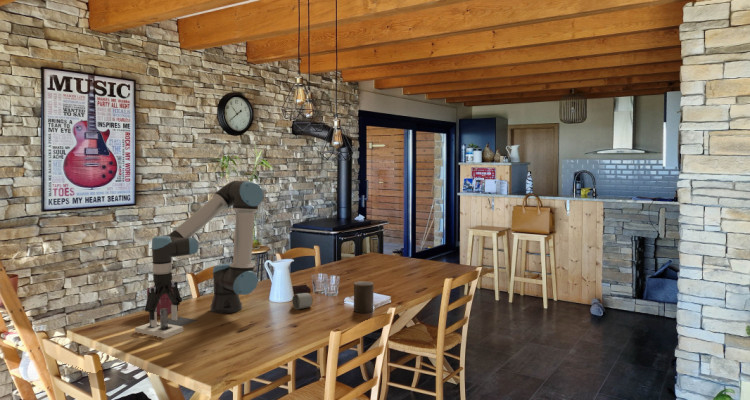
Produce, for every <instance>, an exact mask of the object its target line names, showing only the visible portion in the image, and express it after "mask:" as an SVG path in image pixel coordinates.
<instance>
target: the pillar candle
mask: <svg viewBox="0 0 750 400" xmlns="http://www.w3.org/2000/svg"><path fill="white" fill-rule="evenodd" d="M353 311H354V312H356V313H359V314H368V313H372V312H374V282H372V281H367V280H362V281H361V280H359V281H355V282H354V283H353Z"/></svg>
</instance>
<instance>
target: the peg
mask: <svg viewBox="0 0 750 400" xmlns="http://www.w3.org/2000/svg"><path fill="white" fill-rule="evenodd" d="M168 315H169V314H168V313H167V308H162V309H160V315H159V317H160V318H159V319H160V321H159V322H160V325H161V330H163V331H165V330H168V319H169V317H168Z"/></svg>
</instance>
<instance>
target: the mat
mask: <svg viewBox="0 0 750 400" xmlns="http://www.w3.org/2000/svg"><path fill="white" fill-rule="evenodd" d="M196 321H198V319H195V318H188V317H183V316H178V315H177V320H172V317H170V318H168V324H171V325H176V326H181V327H184V326H185V325H188V324H191V323H194V322H196Z"/></svg>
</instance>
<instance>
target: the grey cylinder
mask: <svg viewBox="0 0 750 400" xmlns="http://www.w3.org/2000/svg"><path fill="white" fill-rule="evenodd" d="M291 300H292V306H293V307H294V309H295V310H301V309H303V310H304V309H305V308H306V309H307V308H311V306H312V305H313V296H312V295H311V294H310V293H309V292H302V293H295V294H293V296H292V299H291Z"/></svg>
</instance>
